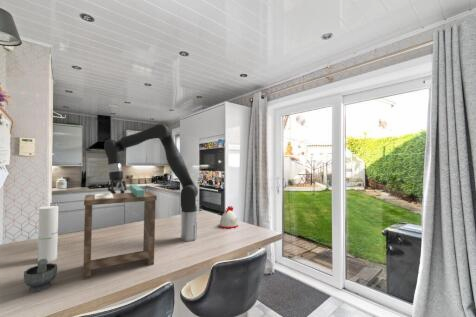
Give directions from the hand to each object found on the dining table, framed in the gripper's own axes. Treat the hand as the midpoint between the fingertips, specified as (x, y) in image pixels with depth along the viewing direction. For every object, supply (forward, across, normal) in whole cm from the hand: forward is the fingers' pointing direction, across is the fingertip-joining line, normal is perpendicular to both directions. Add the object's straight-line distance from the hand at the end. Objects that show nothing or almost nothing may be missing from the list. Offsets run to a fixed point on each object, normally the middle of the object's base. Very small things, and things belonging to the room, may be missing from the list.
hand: (118, 198), depth 137 cm
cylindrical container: (+24, -27, +22) cm, 42 cm away
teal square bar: (+1, -23, -24) cm, 33 cm away
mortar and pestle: (+31, -49, +3) cm, 58 cm away
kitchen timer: (+34, +42, -56) cm, 78 cm away
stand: (+32, -28, -15) cm, 45 cm away
